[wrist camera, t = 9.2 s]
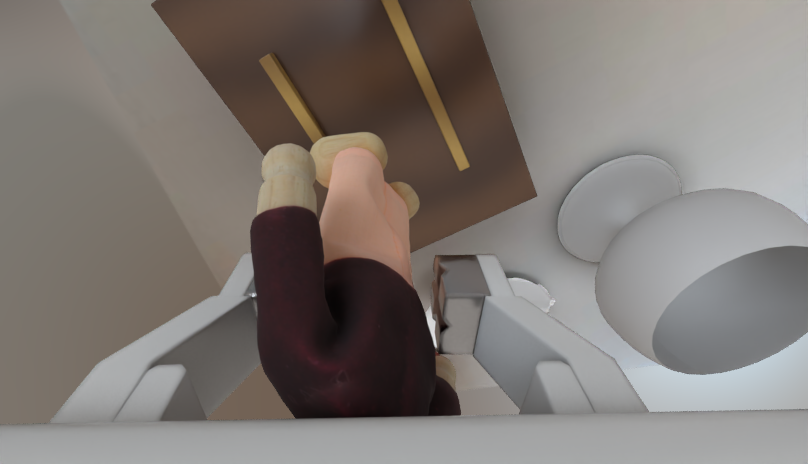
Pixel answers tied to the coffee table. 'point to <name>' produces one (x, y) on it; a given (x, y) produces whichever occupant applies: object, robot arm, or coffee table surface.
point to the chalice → (689, 265)
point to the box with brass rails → (368, 93)
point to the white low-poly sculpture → (520, 288)
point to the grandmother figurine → (342, 287)
